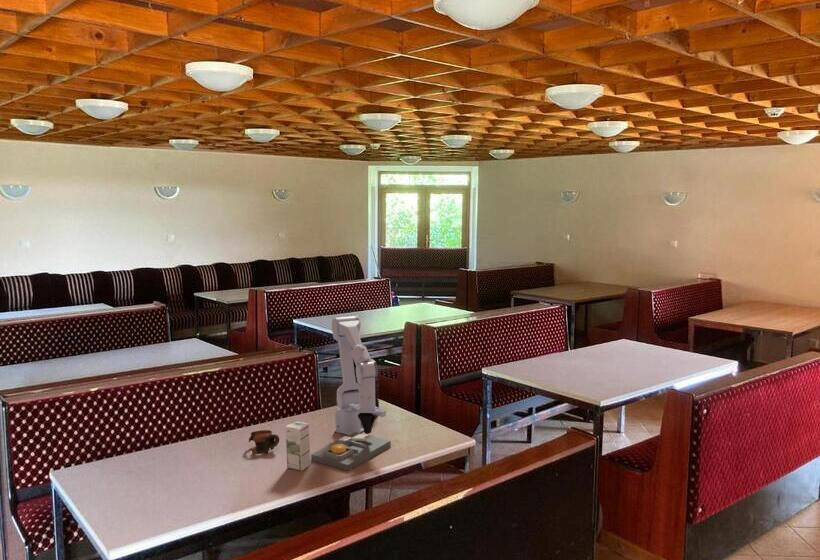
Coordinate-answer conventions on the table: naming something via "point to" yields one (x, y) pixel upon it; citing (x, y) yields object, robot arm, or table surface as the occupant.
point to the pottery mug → (263, 441)
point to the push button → (338, 449)
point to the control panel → (351, 452)
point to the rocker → (362, 437)
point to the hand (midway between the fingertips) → (367, 432)
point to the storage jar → (375, 391)
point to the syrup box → (298, 445)
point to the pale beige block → (345, 441)
